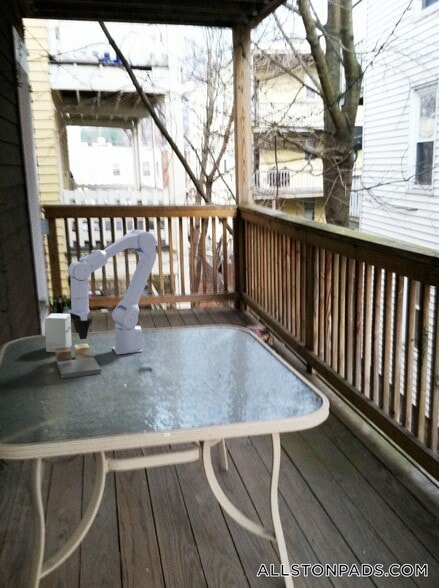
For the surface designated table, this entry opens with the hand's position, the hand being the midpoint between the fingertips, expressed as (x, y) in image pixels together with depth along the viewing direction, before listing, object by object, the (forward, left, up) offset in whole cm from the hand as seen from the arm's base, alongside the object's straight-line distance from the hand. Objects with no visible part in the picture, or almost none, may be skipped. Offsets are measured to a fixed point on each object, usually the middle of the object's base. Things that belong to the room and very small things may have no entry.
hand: (81, 335), depth 182 cm
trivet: (+3, +11, -8) cm, 14 cm away
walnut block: (+6, +2, -8) cm, 11 cm away
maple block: (0, 0, -8) cm, 8 cm away
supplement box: (+6, -13, -8) cm, 17 cm away
